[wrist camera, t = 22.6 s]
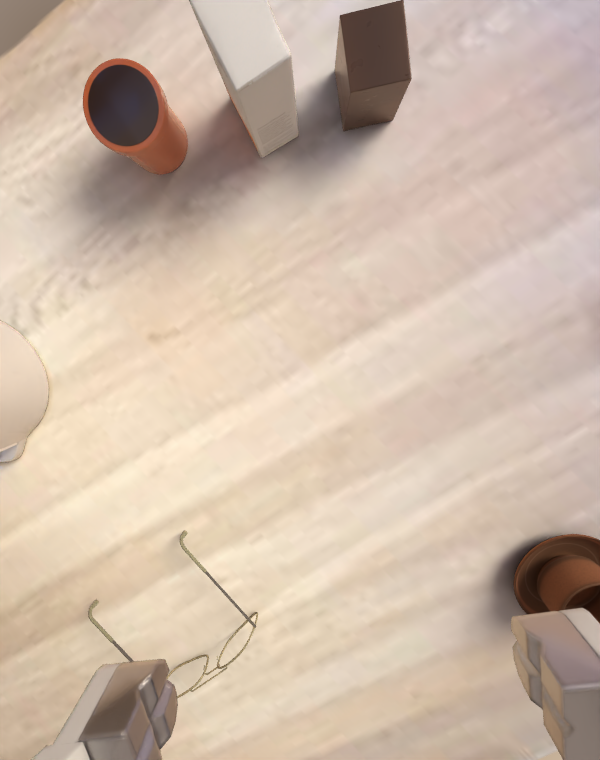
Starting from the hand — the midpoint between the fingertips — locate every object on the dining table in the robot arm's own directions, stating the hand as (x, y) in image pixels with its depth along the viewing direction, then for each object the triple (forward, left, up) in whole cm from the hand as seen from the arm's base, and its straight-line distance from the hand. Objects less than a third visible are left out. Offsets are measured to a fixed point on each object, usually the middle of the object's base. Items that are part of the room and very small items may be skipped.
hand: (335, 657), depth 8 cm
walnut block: (+9, +25, -31) cm, 41 cm away
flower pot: (-11, +25, -31) cm, 41 cm away
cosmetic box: (-1, +25, -31) cm, 40 cm away
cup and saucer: (+24, -28, -31) cm, 48 cm away
